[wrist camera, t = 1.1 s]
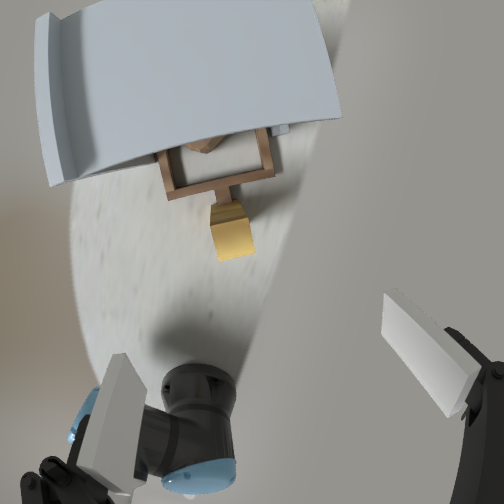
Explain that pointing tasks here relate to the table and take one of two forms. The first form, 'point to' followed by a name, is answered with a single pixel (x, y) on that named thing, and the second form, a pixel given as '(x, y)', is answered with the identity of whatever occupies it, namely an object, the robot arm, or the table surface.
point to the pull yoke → (224, 201)
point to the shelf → (173, 78)
